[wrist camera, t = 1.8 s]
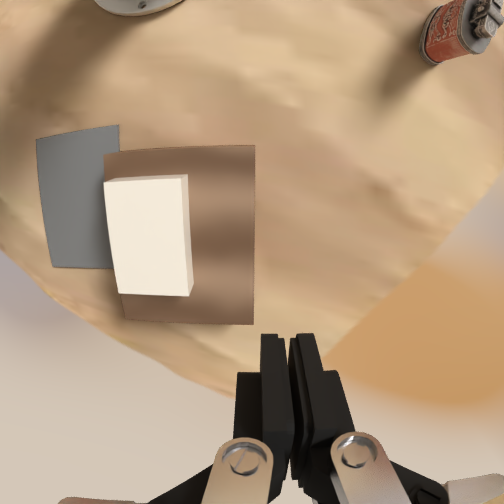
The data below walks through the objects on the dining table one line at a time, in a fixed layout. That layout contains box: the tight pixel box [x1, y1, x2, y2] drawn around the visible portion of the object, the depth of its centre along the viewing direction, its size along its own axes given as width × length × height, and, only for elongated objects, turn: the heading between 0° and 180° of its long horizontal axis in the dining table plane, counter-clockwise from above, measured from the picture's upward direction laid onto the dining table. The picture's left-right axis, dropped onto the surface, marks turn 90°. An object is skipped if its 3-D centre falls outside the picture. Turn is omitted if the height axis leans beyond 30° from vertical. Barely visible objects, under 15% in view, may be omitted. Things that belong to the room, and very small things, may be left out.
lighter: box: [419, 0, 504, 65], centre depth 16 cm, size 8×3×10 cm, turn 155°
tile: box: [104, 174, 194, 296], centre depth 23 cm, size 9×6×2 cm, turn 0°
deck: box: [103, 145, 255, 325], centre depth 26 cm, size 15×12×4 cm
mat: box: [36, 125, 120, 269], centre depth 27 cm, size 14×10×1 cm
